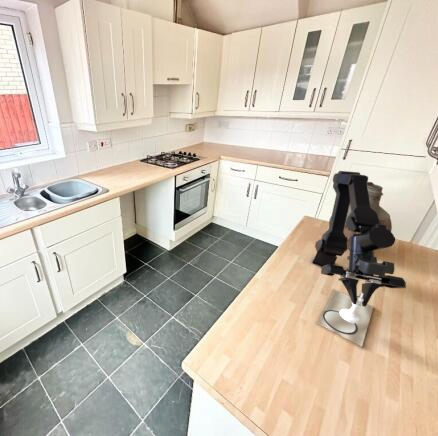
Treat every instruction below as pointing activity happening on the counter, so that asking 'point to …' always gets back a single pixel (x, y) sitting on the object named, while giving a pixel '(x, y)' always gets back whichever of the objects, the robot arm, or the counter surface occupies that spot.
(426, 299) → the counter surface
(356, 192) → the robot arm
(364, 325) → the grey plate with ring
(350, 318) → the chess piece
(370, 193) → the jug
